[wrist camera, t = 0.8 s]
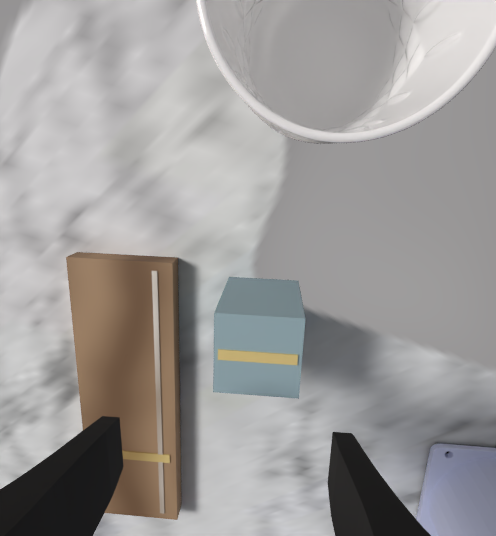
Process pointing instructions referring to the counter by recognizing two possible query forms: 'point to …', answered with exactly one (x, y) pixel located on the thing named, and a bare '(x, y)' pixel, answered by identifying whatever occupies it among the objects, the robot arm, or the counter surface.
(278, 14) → the white cup
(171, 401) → the walnut board
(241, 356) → the block
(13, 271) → the counter surface
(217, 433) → the counter surface
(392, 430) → the counter surface
